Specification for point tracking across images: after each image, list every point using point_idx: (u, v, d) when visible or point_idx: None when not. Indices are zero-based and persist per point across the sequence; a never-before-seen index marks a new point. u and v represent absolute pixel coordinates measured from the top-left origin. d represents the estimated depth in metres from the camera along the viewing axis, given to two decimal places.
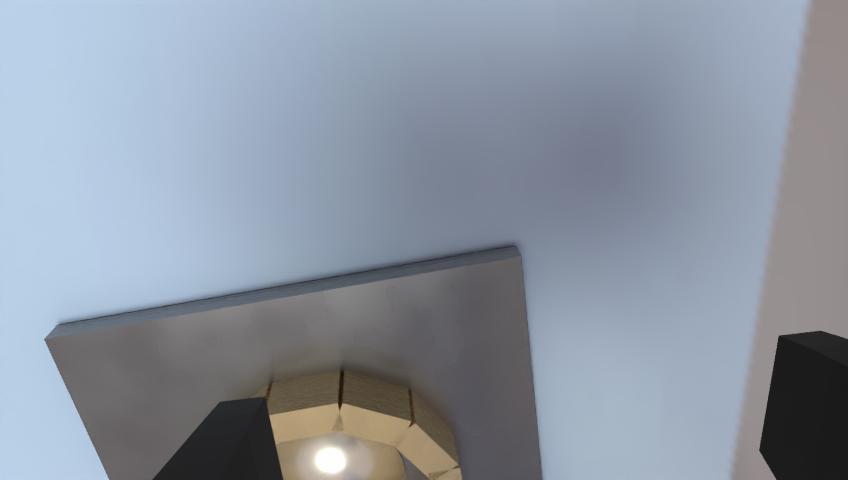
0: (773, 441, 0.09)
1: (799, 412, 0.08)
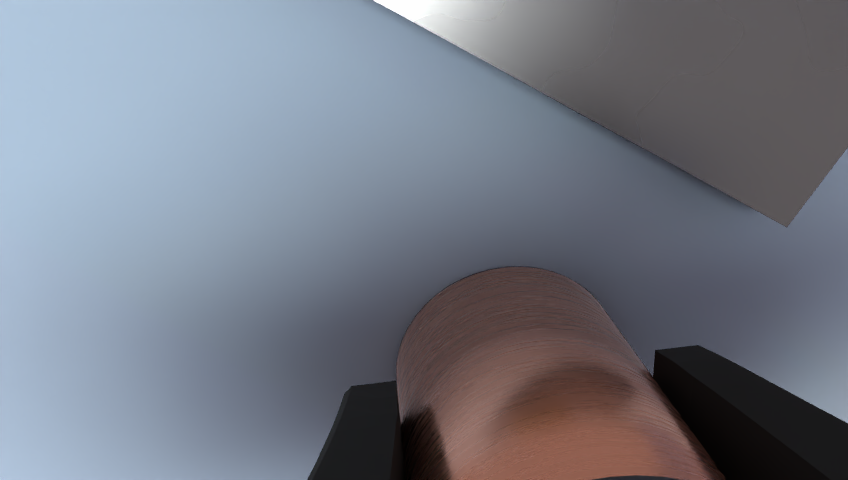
0: None
1: None
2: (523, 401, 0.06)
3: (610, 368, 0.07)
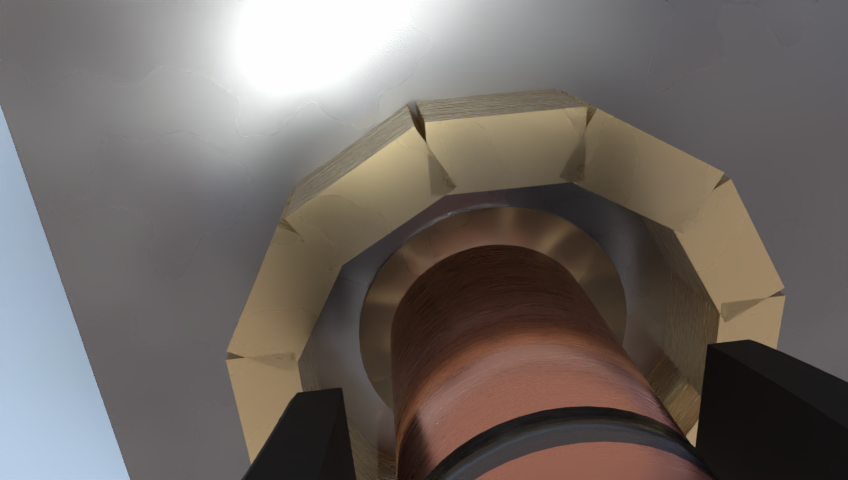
0: (705, 449, 0.09)
1: (725, 421, 0.08)
2: (496, 351, 0.07)
3: (576, 326, 0.08)
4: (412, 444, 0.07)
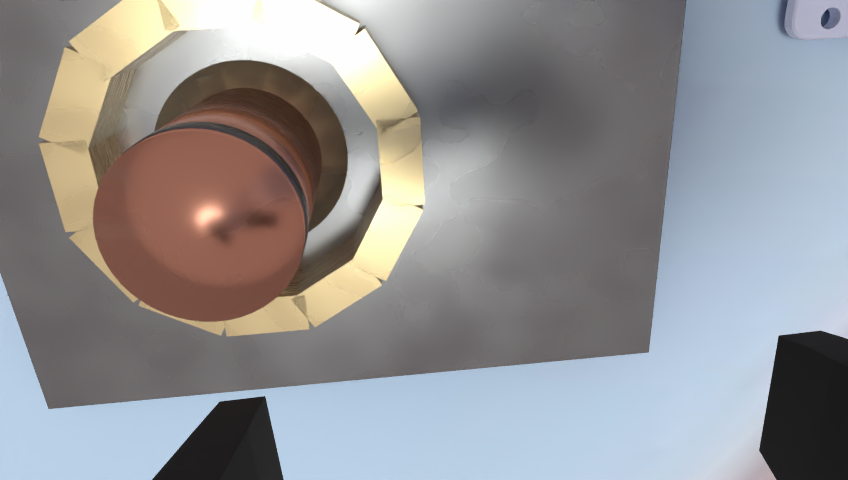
0: (773, 441, 0.09)
1: (799, 412, 0.08)
2: (186, 114, 0.12)
3: (251, 111, 0.12)
4: None
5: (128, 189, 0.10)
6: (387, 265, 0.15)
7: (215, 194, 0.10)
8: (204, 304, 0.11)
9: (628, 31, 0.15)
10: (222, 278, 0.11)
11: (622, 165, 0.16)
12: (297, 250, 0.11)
